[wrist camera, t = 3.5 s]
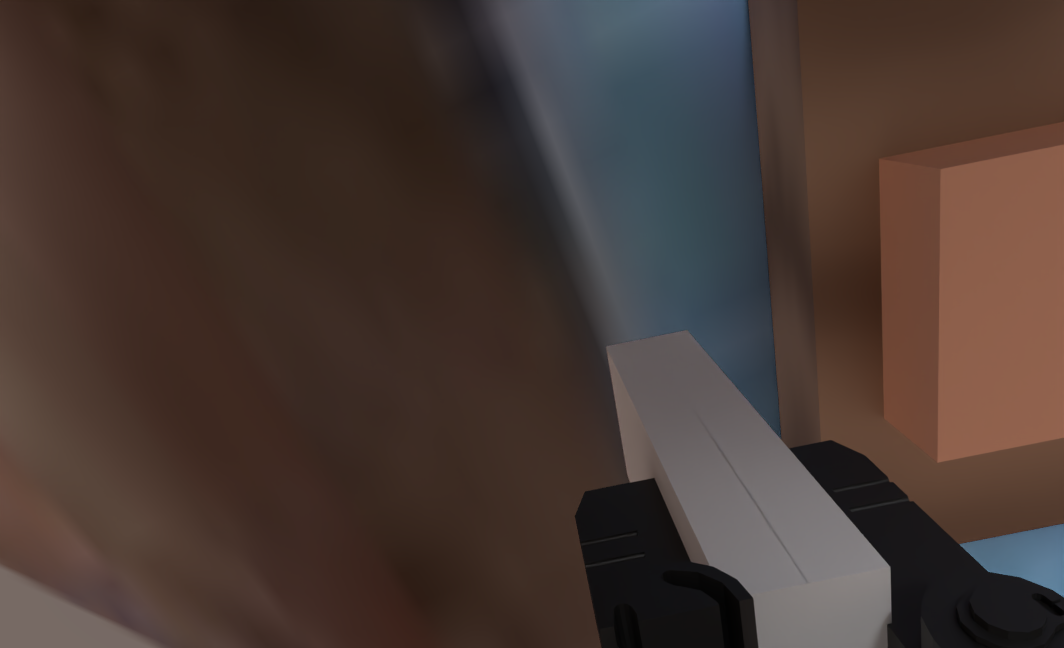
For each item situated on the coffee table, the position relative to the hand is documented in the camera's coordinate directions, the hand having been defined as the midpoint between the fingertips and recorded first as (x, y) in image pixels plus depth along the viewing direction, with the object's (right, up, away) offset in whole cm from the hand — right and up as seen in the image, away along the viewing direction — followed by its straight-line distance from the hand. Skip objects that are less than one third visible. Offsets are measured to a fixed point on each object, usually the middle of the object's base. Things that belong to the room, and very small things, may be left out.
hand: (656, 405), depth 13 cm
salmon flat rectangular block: (+10, +3, +2) cm, 10 cm away
